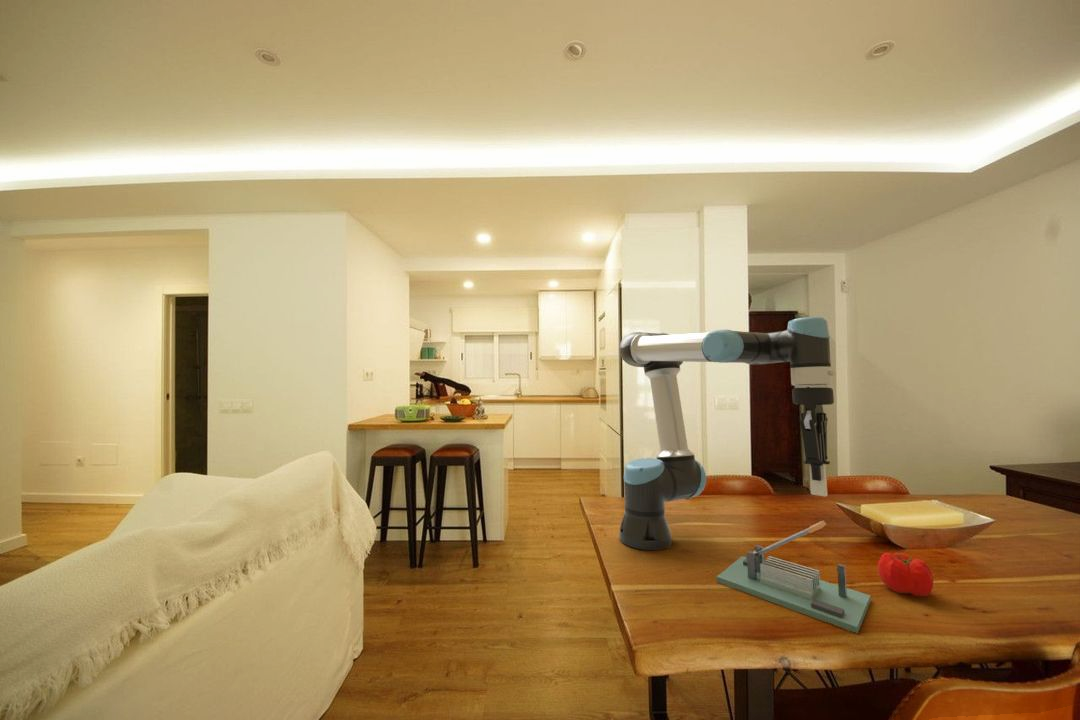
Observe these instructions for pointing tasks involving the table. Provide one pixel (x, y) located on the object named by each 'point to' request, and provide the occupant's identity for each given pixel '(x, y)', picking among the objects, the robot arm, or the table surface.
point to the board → (821, 607)
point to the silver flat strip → (791, 538)
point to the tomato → (905, 574)
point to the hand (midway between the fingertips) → (819, 494)
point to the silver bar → (790, 575)
